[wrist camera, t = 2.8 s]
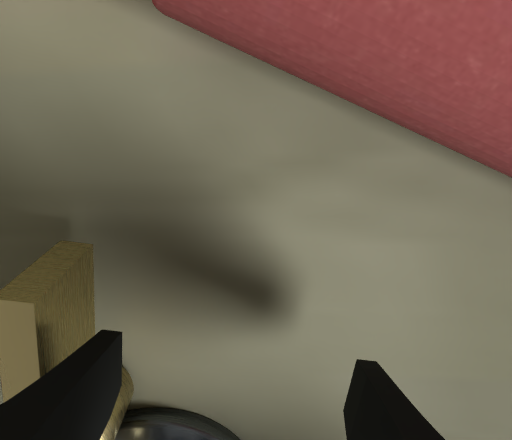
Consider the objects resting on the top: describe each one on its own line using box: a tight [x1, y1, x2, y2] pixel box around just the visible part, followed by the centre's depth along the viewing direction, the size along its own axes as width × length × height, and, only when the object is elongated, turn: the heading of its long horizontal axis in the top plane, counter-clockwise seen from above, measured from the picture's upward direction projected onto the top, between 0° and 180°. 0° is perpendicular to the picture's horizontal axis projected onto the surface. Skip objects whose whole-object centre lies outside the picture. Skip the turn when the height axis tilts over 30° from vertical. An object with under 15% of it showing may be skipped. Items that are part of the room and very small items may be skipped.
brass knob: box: [0, 241, 134, 440], centre depth 13 cm, size 8×3×5 cm, turn 173°
